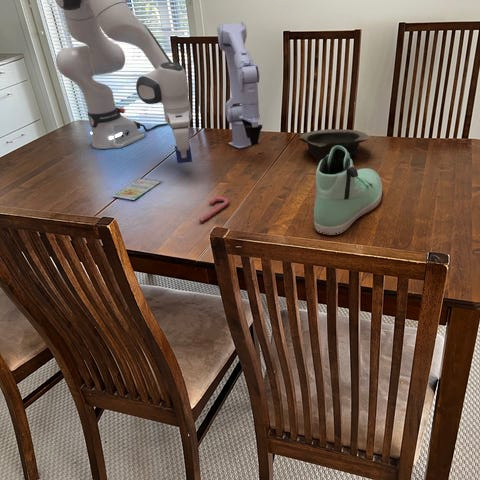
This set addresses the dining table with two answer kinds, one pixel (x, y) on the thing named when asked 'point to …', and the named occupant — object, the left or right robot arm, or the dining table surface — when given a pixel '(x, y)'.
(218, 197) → the candy cane
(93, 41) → the left robot arm
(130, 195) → the baking ingredient package
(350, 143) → the stone bowl
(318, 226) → the sneaker
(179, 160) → the cube
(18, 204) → the dining table surface
